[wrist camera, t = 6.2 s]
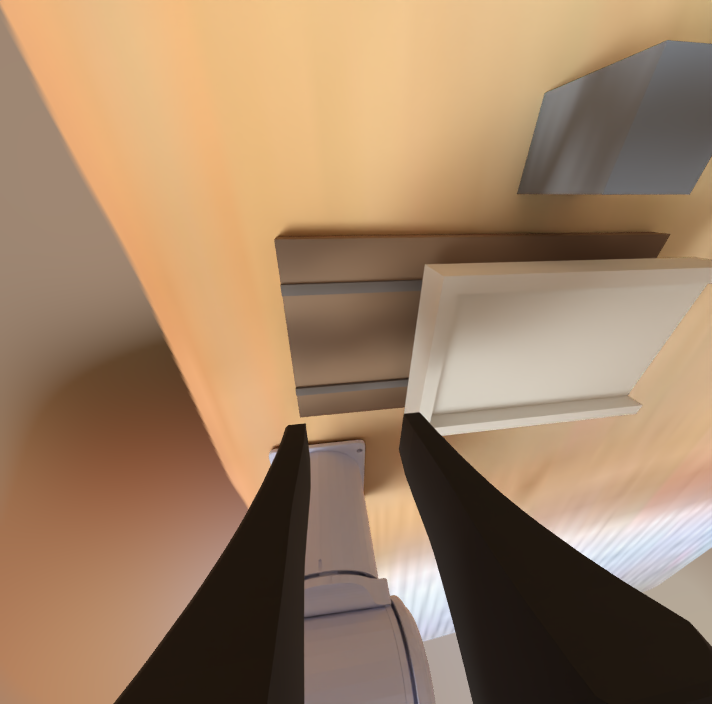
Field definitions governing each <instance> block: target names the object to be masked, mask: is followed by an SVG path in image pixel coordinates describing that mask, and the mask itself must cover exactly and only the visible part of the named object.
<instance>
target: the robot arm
mask: <svg viewBox="0 0 712 704" xmlns="http://www.w3.org/2000/svg"><path fill="white" fill-rule="evenodd" d="M399 452H400V456H401V460H402V464H403V468H404V471H405V475H406V478H407V481H408V484H409V486H410V489H411V492H412V495H413V497H414V500H415V503H416V505H417V508H418V511H419V513H420V516H421V519H422V521H423V524H424V527H425V529H426V532H427V535H428V537H429V540H430V543H431V546H432V549H433V552H434V555H435V559H436V562H437V566H438V569H439V573H440V576H441V580H442V583H443V587H444V591H445V594H446V598H447V602H448V605H449V609H450V613H451V617H452V620H453V624H454V628H455V632H456V636H457V640H458V644H459V648H460V652H461V655H462V659H463V664H464V667H465V672H466V676H467V680H468V684H469V688H470V693H471V697H472V701H473V704H712V646H711V645H710V644H709V643H708V642H707V641H706V640H705V638H704V637H703V636H702V635H701V634H700V633H699V632H698V631H697V629H696V628H695V627H694V626H693V625H692V624H691V623H690V622H689V621H687V620H685V619H684V618H682V617H681V616H679V615H677V614H676V613H674V612H673V611H671V610H669V609H668V608H666V607H664V606H663V605H661V604H660V603H658V602H656V601H655V600H653V599H651V598H650V597H648V596H646V595H645V594H643V593H642V592H640V591H638V590H637V589H635V588H633V587H632V586H630V585H628V584H627V583H625V582H624V581H622V580H621V579H619V578H617V577H616V576H614V575H613V574H611V573H610V572H608V571H607V570H605V569H604V568H602V567H601V566H599V565H598V564H596V563H595V562H593V561H592V560H590V559H589V558H587V557H586V556H584V555H583V554H581V553H580V552H578V551H577V550H576V549H574V548H573V547H571V546H570V545H569V544H567V543H566V542H565V541H563V540H562V539H560V538H559V537H558V536H556V535H555V534H553V533H552V532H551V531H549V530H548V529H546V528H545V527H544V526H542V525H541V524H539V523H538V522H537V521H536V520H534V519H533V518H532V517H530V516H529V515H528V514H527V513H525V512H524V511H523V510H521V509H520V508H519V507H518V506H517V505H515V504H514V503H513V502H512V501H510V500H509V499H508V498H507V497H506V496H504V495H503V494H502V493H501V492H500V491H498V490H497V489H496V488H495V487H494V486H493V485H492V484H490V483H489V482H488V481H487V480H486V479H485V478H484V477H483V476H482V475H481V474H480V473H478V472H477V471H476V470H475V469H474V468H473V467H472V466H471V465H470V464H469V463H468V462H467V461H466V460H465V459H464V458H463V457H462V456H461V455H460V454H459V453H458V452H457V451H456V450H455V449H454V448H453V447H452V446H451V445H450V444H449V443H448V442H447V441H446V440H445V439H444V438H443V437H442V436H441V435H440V434H439V433H438V431H437V430H436V429H435V428H434V427H433V426H432V425H431V424H430V423H429V422H428V421H427V419H426V418H425V417H424V416H423V415H422V414H421V413H420V412H415V413H405V414H404V417H403V424H402V431H401V438H400V445H399ZM269 459H270V463H271V466H270V468H269V471H268V473H267V475H266V477H265V479H264V481H263V483H262V485H261V487H260V489H259V491H258V493H257V495H256V497H255V498H254V500H253V502H252V504H251V506H250V508H249V510H248V511H247V513H246V515H245V517H244V519H243V520H242V522H241V524H240V526H239V527H238V529H237V531H236V532H235V534H234V536H233V537H232V539H231V540H230V542H229V544H228V546H227V547H226V549H225V550H224V552H223V554H222V555H221V556H220V558H219V560H218V561H217V563H216V564H215V566H214V567H213V569H212V570H211V572H210V573H209V575H208V576H207V578H206V579H205V581H204V582H203V584H202V585H201V587H200V588H199V590H198V591H197V593H196V594H195V595H194V597H193V598H192V600H191V601H190V603H189V604H188V605H187V607H186V608H185V610H184V611H183V612H182V614H181V615H180V616H179V618H178V619H177V621H176V622H175V623H174V625H173V626H172V627H171V629H170V630H169V632H168V633H167V634H166V636H165V637H164V638H163V640H162V641H161V642H160V644H159V645H158V647H157V648H156V649H155V651H154V652H153V653H152V655H151V656H150V657H149V659H148V660H147V661H146V663H145V664H144V665H143V667H142V668H141V669H140V671H139V672H138V673H137V675H136V676H135V677H134V678H133V680H132V681H131V682H130V684H129V685H128V686H127V687H126V689H125V690H124V691H123V692H122V694H121V695H120V696H119V698H118V699H117V700H116V701H115V703H114V704H435V697H434V690H433V684H432V679H431V674H430V669H429V664H428V660H427V656H426V652H425V649H424V645H423V642H422V639H421V636H420V633H419V630H418V627H417V625H416V622H415V620H414V618H413V616H412V614H411V613H410V611H409V610H408V609H407V608H406V607H405V605H404V604H403V602H402V601H401V600H400V598H399V597H397V596H395V595H392V596H390V594H389V589H388V584H387V579H386V578H382V579H378V574H377V568H376V562H375V556H374V550H373V544H372V539H371V533H370V527H369V521H368V515H367V509H366V503H365V497H364V492H363V491H364V464H365V443H364V441H363V440H351V441H342V442H333V443H324V444H315V445H308V438H307V431H306V423H305V424H295V425H288V426H287V427H286V428H285V432H284V435H283V438H282V440H281V443H280V446H279V448H278V449H272V450H271V451H270V452H269Z"/></svg>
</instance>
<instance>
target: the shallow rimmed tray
mask: <svg viewBox="0 0 712 704" xmlns="http://www.w3.org/2000/svg"><path fill="white" fill-rule="evenodd" d="M707 284H712V260H709V259H703V258H697V257H682V258H645V259H608V260H570V261H533V262H496V263H459V264H425V267H424V274H423V281H422V289H421V296H420V303H419V310H418V317H417V324H416V331H415V338H414V346H413V353H412V360H411V367H410V374H409V381H408V388H407V395H406V402H405V410H404V414H405V413H415V412H420V413H421V414H422V415H423V416H424V417H425V418H426V419H427V421H428V422H429V423H430V424H431V425H432V426H433V427H434V428H435V429H436V430H437V431H438V433H439V434H440V435H441V436H445V435H453V434H462V433H471V432H480V431H489V430H498V429H507V428H515V427H524V426H533V425H542V424H551V423H560V422H569V421H577V420H586V419H595V418H604V417H613V416H622V415H631V414H636V413H637V412H638V411H639V409H640V408H641V407H642V405H641V404H640V403H638V402H637V401H635V400H634V399H632V398H631V397H629V396H628V394H629V393H630V392H631V390H632V389H633V387H634V386H635V385H636V383H637V382H638V380H639V379H640V378H641V376H642V375H643V373H644V372H645V371H646V369H647V368H648V366H649V365H650V364H651V362H652V361H653V359H654V358H655V357H656V355H657V354H658V352H659V351H660V350H661V348H662V347H663V345H664V344H665V343H666V341H667V340H668V339H669V337H670V336H671V334H672V333H673V332H674V330H675V329H676V327H677V326H678V325H679V323H680V322H681V320H682V319H683V318H684V316H685V315H686V313H687V312H688V311H689V309H690V308H691V306H692V305H693V304H694V302H695V301H696V299H697V298H698V297H699V295H700V294H701V292H702V291H703V290H704V288H705V287H706V285H707Z"/></svg>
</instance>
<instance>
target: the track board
mask: <svg viewBox="0 0 712 704" xmlns="http://www.w3.org/2000/svg"><path fill="white" fill-rule="evenodd" d="M669 236H670V234H664V233H655V232H620V233H538V234H456V235H373V236H291V237H276V238H275V239H274V240H275V247H276V254H277V261H278V268H279V275H280V282H281V285H280V286H281V292H282V296H283V303H284V309H285V316H286V323H287V330H288V337H289V344H290V351H291V358H292V365H293V372H294V378H295V385H296V395H297V399H298V406H299V413H300V417H309V416H319V415H330V414H340V413H350V412H361V411H371V410H381V409H392V408H402V407H405V402H406V395H407V388H408V381H409V374H410V367H411V360H412V353H413V346H414V338H415V331H416V324H417V317H418V310H419V303H420V296H421V289H422V281H423V274H424V267H425V264H459V263H496V262H533V261H570V260H608V259H645V258H657V256H658V254H659V253H660V251H661V249H662V248H663V246H664V244H665V242H666V241H667V239H668V237H669Z"/></svg>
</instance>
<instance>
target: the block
mask: <svg viewBox="0 0 712 704" xmlns="http://www.w3.org/2000/svg"><path fill="white" fill-rule="evenodd" d="M711 156H712V44H707V43H695V42H682V41H670V40H667V41H665V42H662V43H660V44H658V45H655V46H653V47H651V48H648V49H646V50H644V51H641V52H639V53H637V54H634V55H632V56H630V57H628V58H625V59H623V60H621V61H618V62H616V63H614V64H611V65H609V66H607V67H604V68H602V69H600V70H597V71H595V72H593V73H590V74H588V75H586V76H584V77H581V78H579V79H577V80H574V81H572V82H570V83H567V84H565V85H563V86H560V87H558V88H556V89H553V90H551V91H549V92H546V93H545V94H544V98H543V101H542V105H541V108H540V112H539V116H538V119H537V123H536V127H535V130H534V134H533V137H532V141H531V145H530V148H529V152H528V156H527V159H526V163H525V167H524V170H523V174H522V177H521V181H520V185H519V188H518V192H517V194H690V193H691V191H692V190H693V188H694V186H695V184H696V183H697V181H698V179H699V177H700V176H701V174H702V172H703V170H704V169H705V167H706V165H707V163H708V162H709V160H710V158H711Z"/></svg>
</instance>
